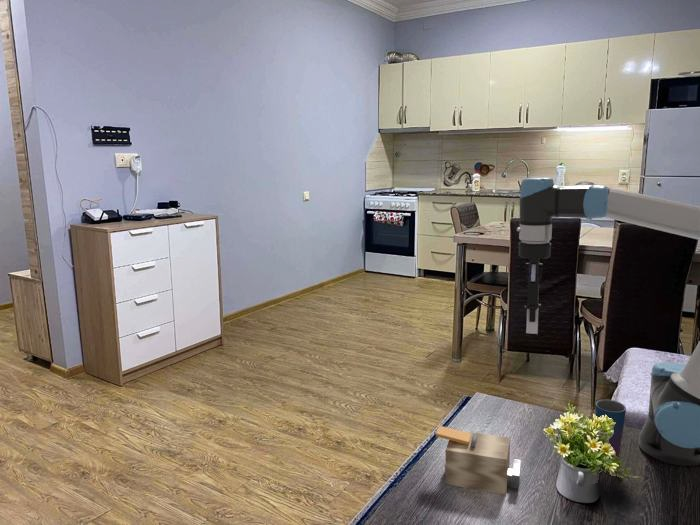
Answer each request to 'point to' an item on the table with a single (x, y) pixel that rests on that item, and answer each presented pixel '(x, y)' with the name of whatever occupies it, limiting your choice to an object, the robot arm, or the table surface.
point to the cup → (617, 414)
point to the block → (479, 463)
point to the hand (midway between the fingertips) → (531, 332)
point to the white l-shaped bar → (511, 474)
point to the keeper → (456, 435)
